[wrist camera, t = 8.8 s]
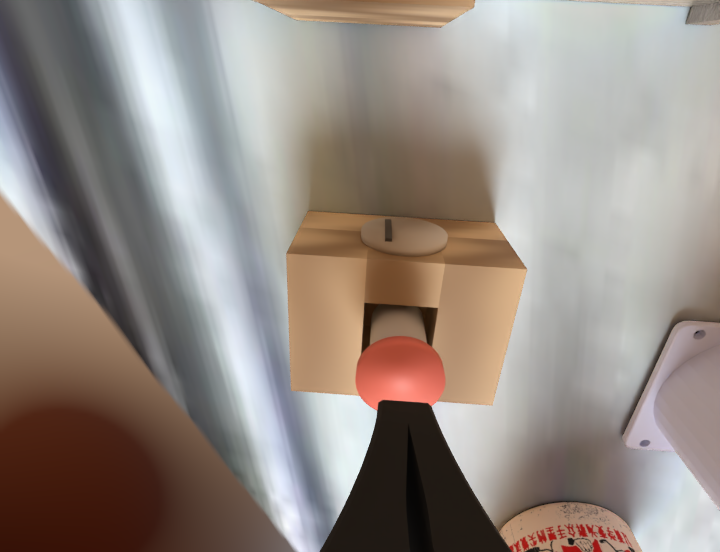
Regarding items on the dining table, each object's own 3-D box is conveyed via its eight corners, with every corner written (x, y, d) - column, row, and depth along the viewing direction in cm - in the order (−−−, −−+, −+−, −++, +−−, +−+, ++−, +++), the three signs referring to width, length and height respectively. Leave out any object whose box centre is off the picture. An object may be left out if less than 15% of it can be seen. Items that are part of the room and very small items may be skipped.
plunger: (438, 291, 16) (451, 349, 12) (428, 352, 17) (439, 418, 14) (362, 286, 16) (357, 342, 12) (359, 347, 17) (353, 412, 14)
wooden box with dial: (497, 213, 18) (530, 257, 14) (471, 338, 21) (492, 405, 17) (308, 201, 18) (286, 242, 14) (309, 327, 21) (290, 390, 17)
